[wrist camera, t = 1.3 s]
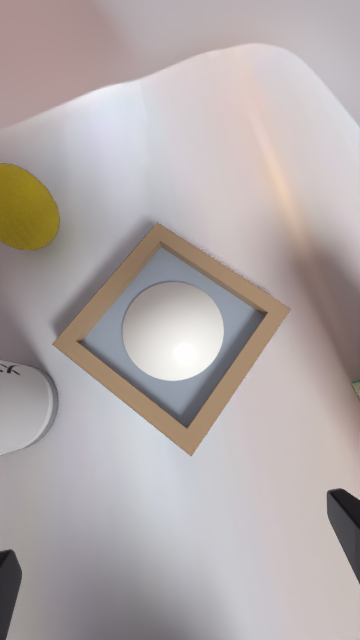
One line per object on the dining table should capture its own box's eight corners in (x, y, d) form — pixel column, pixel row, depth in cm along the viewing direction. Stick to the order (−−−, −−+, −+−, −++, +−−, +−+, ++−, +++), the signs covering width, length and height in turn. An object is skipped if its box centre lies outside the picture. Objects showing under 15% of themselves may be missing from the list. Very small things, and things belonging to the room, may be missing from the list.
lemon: (84, 243, 26) (42, 179, 19) (31, 276, 26) (-36, 224, 18) (54, 202, 28) (3, 125, 20) (2, 232, 27) (-71, 165, 19)
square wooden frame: (190, 451, 22) (191, 456, 20) (62, 348, 24) (52, 344, 22) (282, 316, 24) (290, 308, 22) (159, 235, 26) (157, 222, 25)
